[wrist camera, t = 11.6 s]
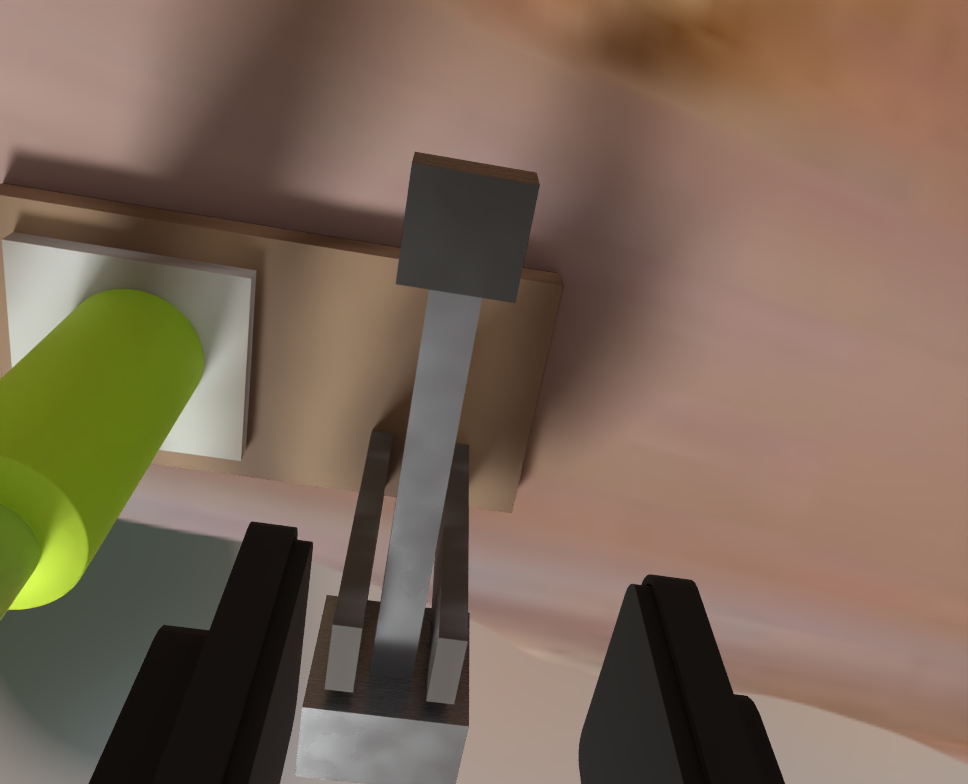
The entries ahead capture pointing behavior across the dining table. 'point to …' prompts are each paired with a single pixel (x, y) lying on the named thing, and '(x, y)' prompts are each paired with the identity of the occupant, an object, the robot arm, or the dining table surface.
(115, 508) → the soap dispenser
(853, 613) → the dining table surface
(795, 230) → the dining table surface
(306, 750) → the lever
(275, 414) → the base
